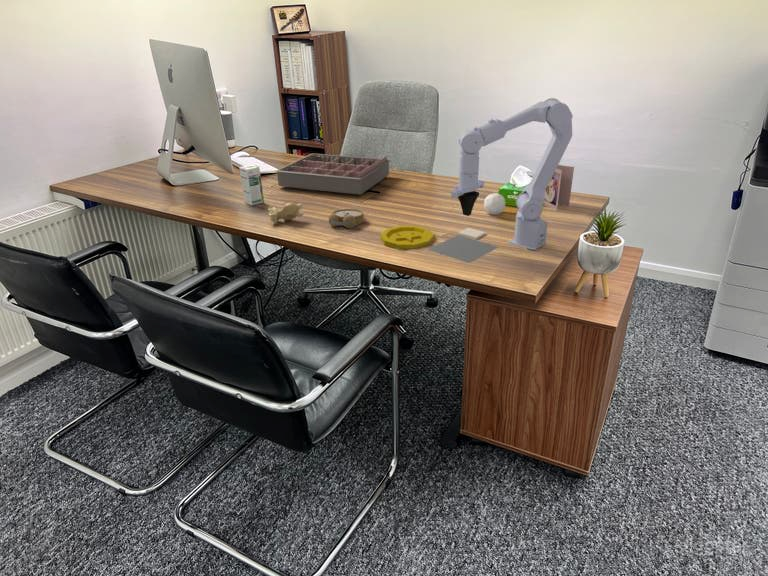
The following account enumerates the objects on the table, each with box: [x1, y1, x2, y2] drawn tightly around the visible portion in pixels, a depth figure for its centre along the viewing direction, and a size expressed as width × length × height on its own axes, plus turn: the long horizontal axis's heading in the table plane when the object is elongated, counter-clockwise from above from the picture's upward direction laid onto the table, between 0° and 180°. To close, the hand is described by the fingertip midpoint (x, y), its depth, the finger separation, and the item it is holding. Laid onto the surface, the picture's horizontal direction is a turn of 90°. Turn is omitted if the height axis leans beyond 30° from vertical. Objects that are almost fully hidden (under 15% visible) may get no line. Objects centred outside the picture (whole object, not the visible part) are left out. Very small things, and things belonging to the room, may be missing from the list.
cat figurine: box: [267, 202, 305, 226], centre depth 201 cm, size 8×7×12 cm
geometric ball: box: [483, 192, 506, 216], centre depth 203 cm, size 8×8×8 cm
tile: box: [457, 227, 487, 240], centre depth 186 cm, size 7×2×6 cm
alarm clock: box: [328, 208, 365, 229], centre depth 199 cm, size 11×5×15 cm
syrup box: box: [239, 164, 265, 206], centre depth 220 cm, size 6×6×14 cm
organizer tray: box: [274, 153, 392, 196], centre depth 243 cm, size 32×40×10 cm
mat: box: [427, 234, 499, 264], centre depth 176 cm, size 16×16×1 cm
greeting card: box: [543, 164, 575, 211], centre depth 209 cm, size 11×7×15 cm, turn 18°
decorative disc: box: [380, 225, 435, 250], centre depth 184 cm, size 17×18×2 cm
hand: (466, 214), depth 176 cm, fingers closed
